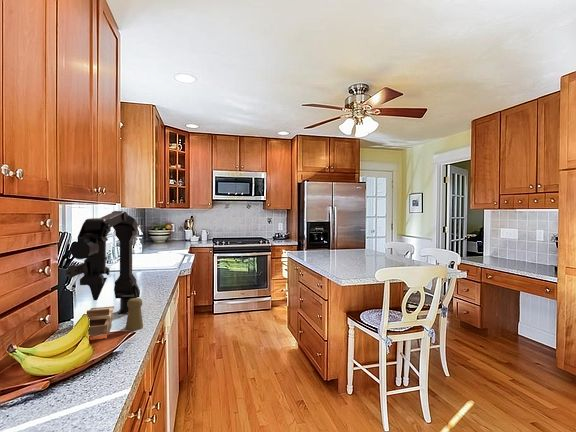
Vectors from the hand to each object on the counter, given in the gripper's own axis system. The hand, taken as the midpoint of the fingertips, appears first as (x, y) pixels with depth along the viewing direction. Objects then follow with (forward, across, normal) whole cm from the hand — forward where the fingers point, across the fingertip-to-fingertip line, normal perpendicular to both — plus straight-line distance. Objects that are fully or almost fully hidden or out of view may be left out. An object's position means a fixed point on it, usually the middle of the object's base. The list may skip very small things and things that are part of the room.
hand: (95, 300), depth 110 cm
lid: (+8, -10, 0) cm, 13 cm away
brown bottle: (+13, -5, +12) cm, 18 cm away
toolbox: (+13, -3, 0) cm, 13 cm away
